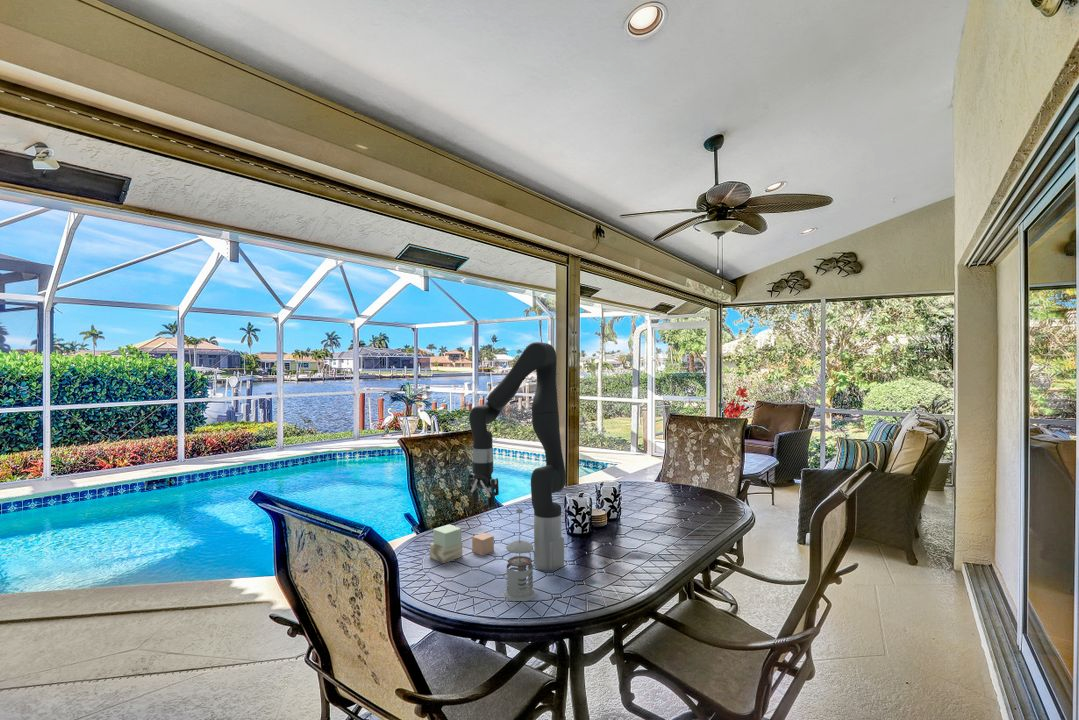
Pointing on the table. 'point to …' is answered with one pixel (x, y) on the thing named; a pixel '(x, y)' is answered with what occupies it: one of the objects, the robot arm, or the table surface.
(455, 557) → the birch base block
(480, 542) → the terracotta block
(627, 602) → the table surface
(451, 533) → the sage top block
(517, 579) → the french press
